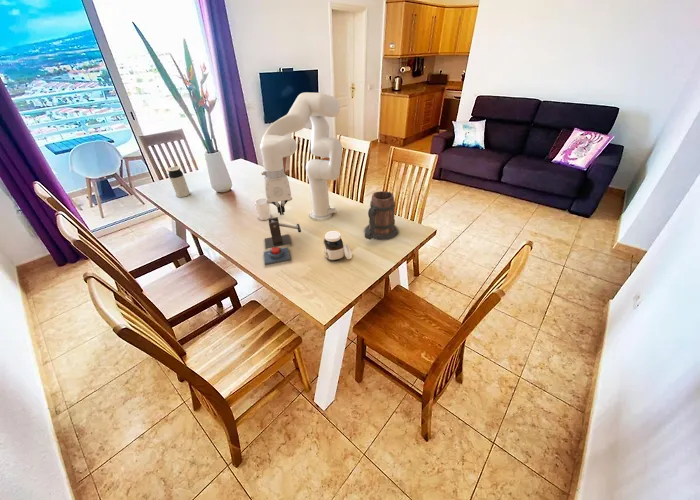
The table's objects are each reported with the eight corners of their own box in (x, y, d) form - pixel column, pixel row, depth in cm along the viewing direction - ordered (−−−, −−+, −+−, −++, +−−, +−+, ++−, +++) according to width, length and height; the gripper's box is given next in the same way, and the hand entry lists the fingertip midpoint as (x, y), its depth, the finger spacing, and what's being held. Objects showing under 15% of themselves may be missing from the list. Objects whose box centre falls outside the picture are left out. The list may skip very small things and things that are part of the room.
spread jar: (322, 252, 137) (320, 231, 131) (345, 246, 141) (344, 225, 134) (331, 267, 128) (330, 245, 122) (355, 260, 132) (355, 238, 125)
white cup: (268, 221, 163) (265, 204, 157) (255, 220, 165) (251, 203, 159) (274, 214, 170) (271, 198, 164) (261, 213, 171) (258, 197, 165)
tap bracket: (289, 236, 150) (285, 213, 143) (291, 245, 143) (287, 222, 135) (264, 240, 147) (259, 217, 140) (266, 250, 140) (260, 227, 133)
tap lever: (298, 227, 147) (299, 223, 146) (300, 233, 142) (301, 229, 141) (269, 222, 141) (271, 217, 140) (270, 228, 136) (272, 223, 135)
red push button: (279, 249, 134) (279, 246, 133) (280, 253, 131) (279, 250, 130) (271, 250, 133) (270, 247, 132) (272, 255, 131) (271, 252, 130)
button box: (288, 251, 139) (287, 244, 137) (290, 262, 132) (289, 255, 130) (264, 255, 137) (262, 248, 135) (265, 267, 130) (263, 259, 127)
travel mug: (192, 192, 198) (183, 166, 188) (185, 197, 192) (175, 170, 181) (181, 192, 199) (171, 166, 189) (174, 197, 192) (163, 170, 182)
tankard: (375, 219, 161) (375, 185, 150) (403, 227, 154) (406, 192, 142) (351, 240, 145) (350, 203, 134) (382, 250, 138) (384, 212, 126)
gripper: (256, 178, 114) (264, 220, 125) (294, 173, 118) (300, 215, 128) (255, 172, 120) (263, 212, 131) (292, 167, 123) (297, 207, 134)
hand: (281, 213), depth 129 cm, fingers closed
